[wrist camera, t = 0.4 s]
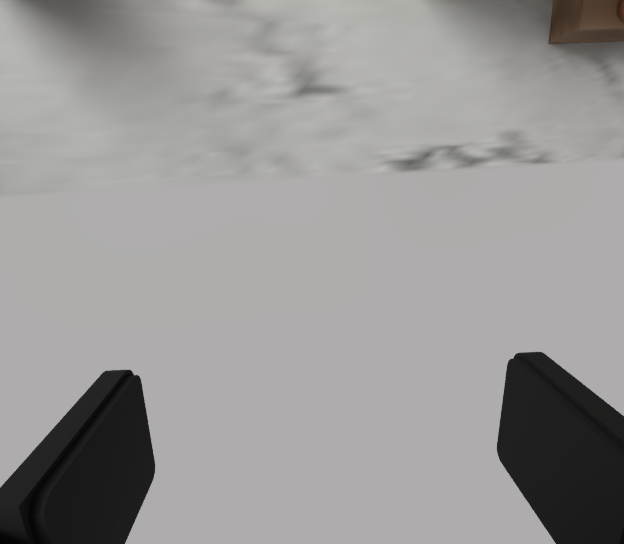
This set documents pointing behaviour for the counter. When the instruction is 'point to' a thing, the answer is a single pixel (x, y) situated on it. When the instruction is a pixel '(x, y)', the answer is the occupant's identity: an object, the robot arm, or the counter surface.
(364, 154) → the counter surface
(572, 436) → the robot arm
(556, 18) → the brown knobbed block
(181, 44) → the counter surface
